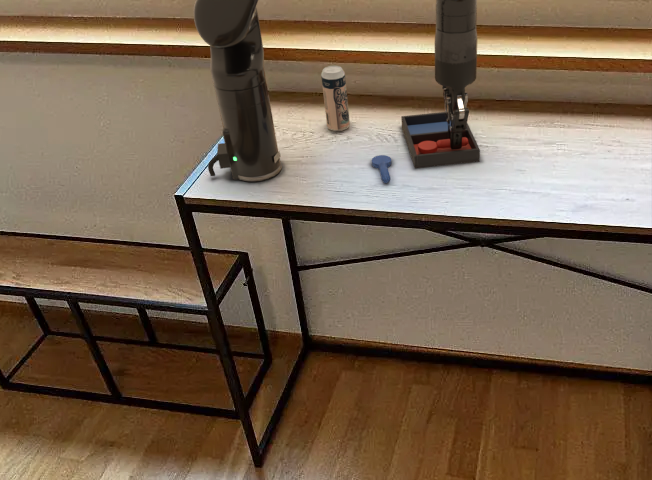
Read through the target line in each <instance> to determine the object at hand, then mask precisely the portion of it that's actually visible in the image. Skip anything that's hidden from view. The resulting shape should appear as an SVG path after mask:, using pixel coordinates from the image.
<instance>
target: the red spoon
mask: <svg viewBox="0 0 652 480" xmlns="http://www.w3.org/2000/svg"><path fill="white" fill-rule="evenodd" d="M468 142H469V141H468V139H467V138H466V137H463V138H462V146H466V145H467V144H468ZM438 148H439V149H441V148H450V139H444V140H438V141H437V142H434V141H423V142H421V143H419V144H418V151H419V152H421V153H423V154H429V153H434V152H436V151H437V150H438Z"/></svg>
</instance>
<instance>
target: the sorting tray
mask: <svg viewBox="0 0 652 480" xmlns="http://www.w3.org/2000/svg"><path fill="white" fill-rule="evenodd" d="M400 120H401V130H402V132H403V136H404V139H405V143H406V146H407V148H408V151H409V155H410V158H411V161H412V165H413V167H414V169H424V168H433V167H434V168H435V167H443V166H453V165H461V164H472V163H479V162H480V161H481V160H480V159H481V158H480V155H481V148H480V147H479V145H478V142H477V140H476V138H475V136H474V133H473V132H472V130H471V127H470V126H469V123H468V122H467V125H466V130H465V131H462V138H463V137H466V138H467V139H468V141H469V142H468V144H467V145H466V146H462V147H461V148H460V149H451V147H450V148H441V149H439V148H438V150H437V151H436V152H434V153H429V154H423V153H421V152H419V151H418V144H419V143H421V142H423V141H434V142H437V141H438V140H444V139H448V125H449V124H447V122H446V120H447V117H445V111H439V112H430V113H429V112H428V113H420V114H410V115H401V119H400Z"/></svg>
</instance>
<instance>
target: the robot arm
mask: <svg viewBox="0 0 652 480" xmlns="http://www.w3.org/2000/svg"><path fill="white" fill-rule="evenodd" d="M258 2H259V0H195V2H194V5H193V21H194V26H195V28H196V31H197V33H198V35H199V36H200V38H201V39H202V41H204V43H206V44H207V45H208V46H209V49H210V75H211V80H212V85H213V88H214V93H215V97H216V102H217V106H218V111H219V115H220V121H221V124H222V137H223V142H221V143H217V152H216V155H215V156H214V157H212V158H211V159H210V160H209V162H208V164H207V170H208V173H209V176H210V177H215V176H216V172H215V170H214V166H215V164H216V163H217V162H218V164H219V168H220V169H221V170H223V169H230V172H231V177H232V180H234V181H236V180H240V181H243V182H261V181H266V180H269V179H271V178H273V177H275V176H277V175H278V174H279V173H280V172H281V170H282V162H281V152H280V151H281V150H279V148H278V141H277V136H276V135H277V134H276V129H275V123H274V118H273V112H272V106H271V100H270V95H269V90H268V84H267V83H268V82H267V78H266V71H265V51H264V45H263V38H262V31H261V25H260V18H259V11H258V7H257V5H258ZM477 14H478V0H435V34H434V80H435V82H436V83H437V84H438V85H440V86H441V87H442V96H443V109H444V112H445V117H447V120H446V122H447V124H449V125H448V139H450V147H451V149H460V148H461V147H462V131H465V130H466V125H467V123H468V120H469V114H470V109H469V107H467V104H468V102H469V96H468V95H469V94H468V91H466V87H467V86H469V85H472V84H473V83H475V81H476V79H477V68H478V67H477V66H478V30H477V20H478V17H477V16H478V15H477Z"/></svg>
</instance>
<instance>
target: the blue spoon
mask: <svg viewBox="0 0 652 480" xmlns="http://www.w3.org/2000/svg"><path fill="white" fill-rule="evenodd" d="M371 166H372V167H373V168H374V169H378V170H379V174H380V177H381V181H382V182H383V183H384V184H388V183H390V181H391V175H390V170H389V168H390V167H391V166H392V158H391V157H390V156H389V155H385V154H379V155H375V156H374V157H372V158H371Z"/></svg>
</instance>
